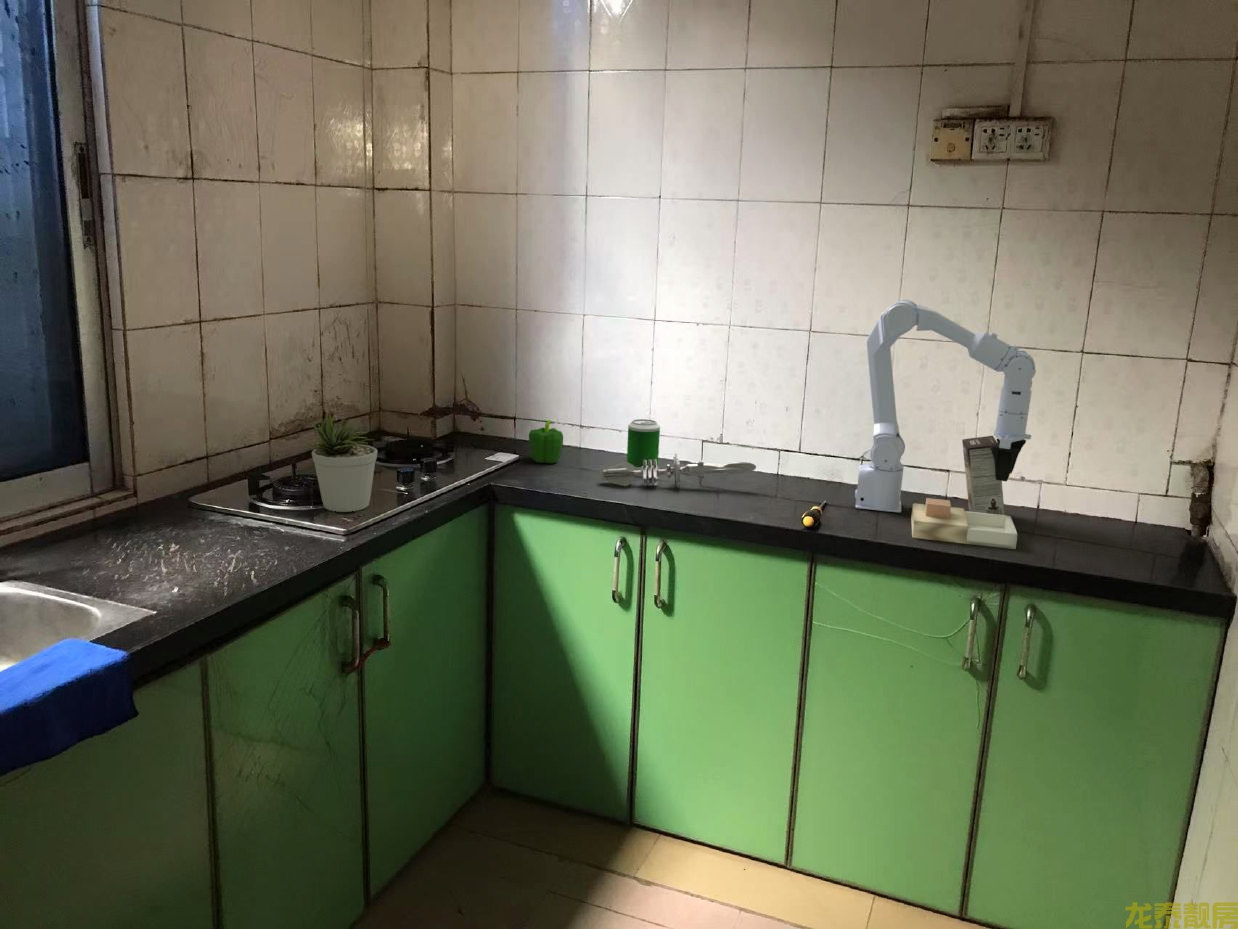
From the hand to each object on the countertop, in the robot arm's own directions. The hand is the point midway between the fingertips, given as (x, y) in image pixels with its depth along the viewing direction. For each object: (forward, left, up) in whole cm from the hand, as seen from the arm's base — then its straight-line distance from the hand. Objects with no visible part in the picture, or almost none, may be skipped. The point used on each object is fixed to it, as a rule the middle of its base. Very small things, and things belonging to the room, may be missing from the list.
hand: (1003, 476), depth 203 cm
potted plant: (-128, -41, -10) cm, 135 cm away
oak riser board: (-12, -12, -10) cm, 20 cm away
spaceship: (-68, 0, -10) cm, 69 cm away
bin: (-3, -12, -10) cm, 15 cm away
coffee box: (-2, +2, -9) cm, 10 cm away
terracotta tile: (-13, -12, -6) cm, 18 cm away
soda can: (-79, +12, -10) cm, 81 cm away
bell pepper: (-103, +11, -10) cm, 105 cm away
